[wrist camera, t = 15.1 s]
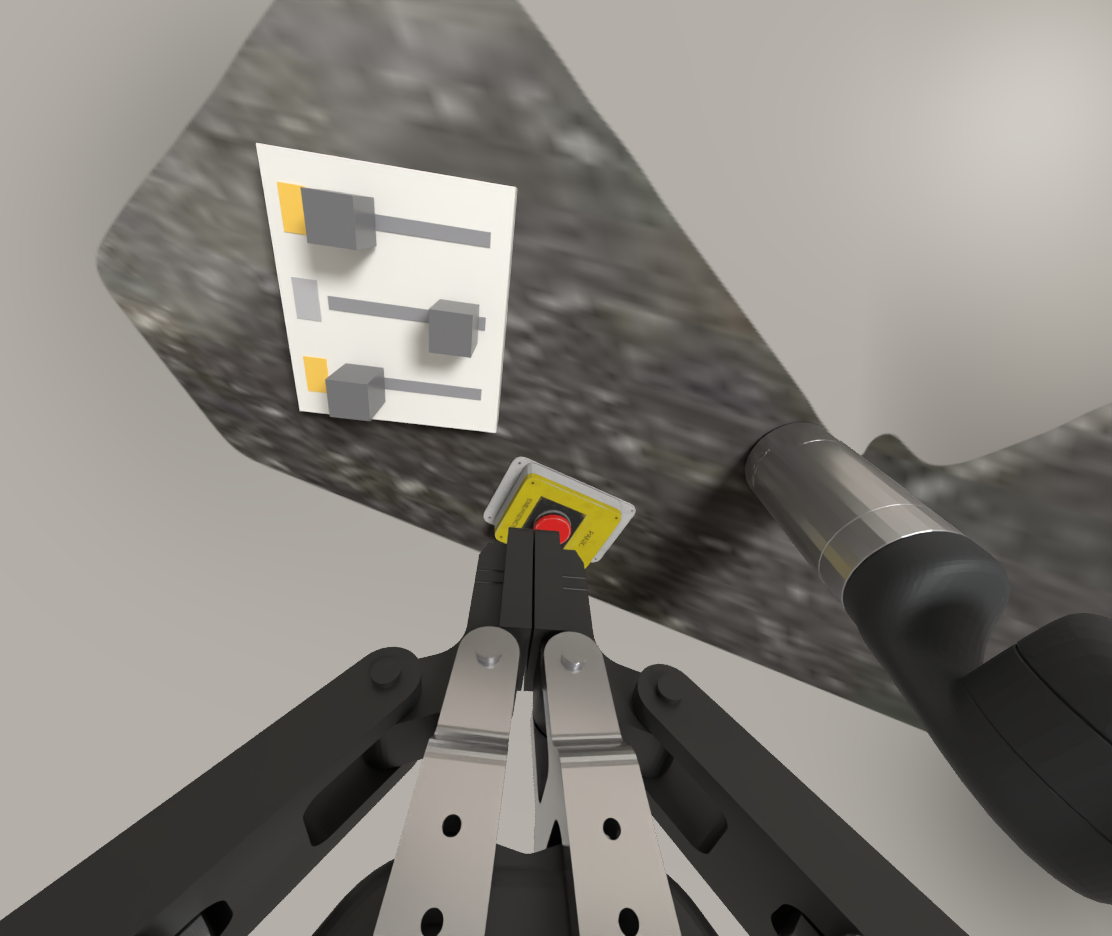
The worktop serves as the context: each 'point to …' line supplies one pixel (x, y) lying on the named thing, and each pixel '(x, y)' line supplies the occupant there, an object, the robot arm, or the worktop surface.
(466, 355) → the switch
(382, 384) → the switch
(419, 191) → the switch panel
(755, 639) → the worktop surface
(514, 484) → the emergency button
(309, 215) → the switch
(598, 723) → the robot arm
